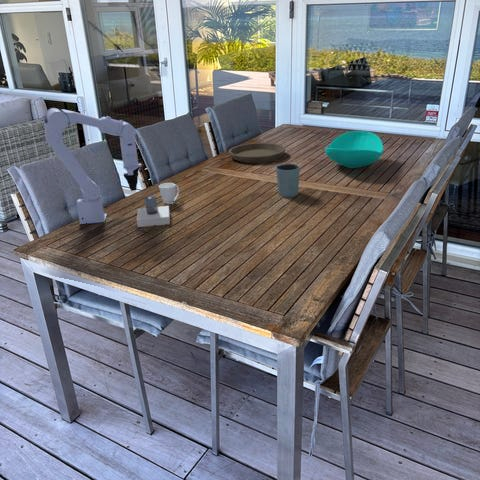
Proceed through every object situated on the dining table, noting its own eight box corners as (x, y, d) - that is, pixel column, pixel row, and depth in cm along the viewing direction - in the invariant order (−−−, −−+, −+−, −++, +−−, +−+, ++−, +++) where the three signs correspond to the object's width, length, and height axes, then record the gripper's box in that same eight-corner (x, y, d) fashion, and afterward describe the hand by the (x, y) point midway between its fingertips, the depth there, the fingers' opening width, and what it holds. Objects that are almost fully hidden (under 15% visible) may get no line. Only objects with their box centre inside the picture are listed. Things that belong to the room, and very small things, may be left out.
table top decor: (376, 180, 217) (378, 151, 212) (316, 175, 227) (317, 148, 221) (386, 157, 250) (388, 132, 245) (333, 154, 260) (334, 129, 254)
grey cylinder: (147, 215, 181) (145, 200, 179) (146, 211, 185) (143, 196, 183) (159, 213, 183) (156, 198, 180) (157, 209, 187) (155, 194, 184)
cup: (157, 204, 201) (155, 186, 197) (173, 197, 208) (171, 179, 204) (169, 207, 197) (167, 189, 193) (185, 200, 204) (183, 182, 201)
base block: (137, 227, 179) (136, 219, 178) (139, 215, 190) (138, 208, 189) (169, 224, 181) (169, 216, 179) (169, 212, 191) (168, 205, 190)
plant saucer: (220, 155, 270) (220, 147, 268) (268, 147, 281) (268, 139, 279) (244, 168, 244) (243, 159, 242) (296, 159, 255) (296, 150, 254)
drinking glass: (298, 197, 201) (298, 170, 196) (274, 197, 203) (274, 169, 198) (300, 190, 210) (300, 163, 205) (277, 189, 212) (277, 163, 207)
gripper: (139, 158, 179) (143, 192, 185) (140, 148, 192) (144, 181, 198) (119, 159, 178) (125, 193, 184) (122, 150, 191) (127, 182, 197)
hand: (134, 187), depth 191 cm, fingers open, 7 cm apart
